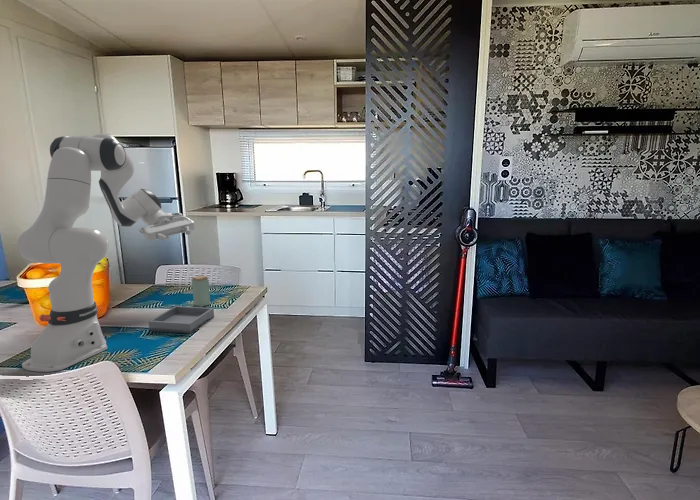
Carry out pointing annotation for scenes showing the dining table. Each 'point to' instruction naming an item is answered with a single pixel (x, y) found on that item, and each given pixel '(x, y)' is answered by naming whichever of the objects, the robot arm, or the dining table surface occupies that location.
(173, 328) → the bin
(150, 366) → the dining table surface
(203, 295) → the spice jar
